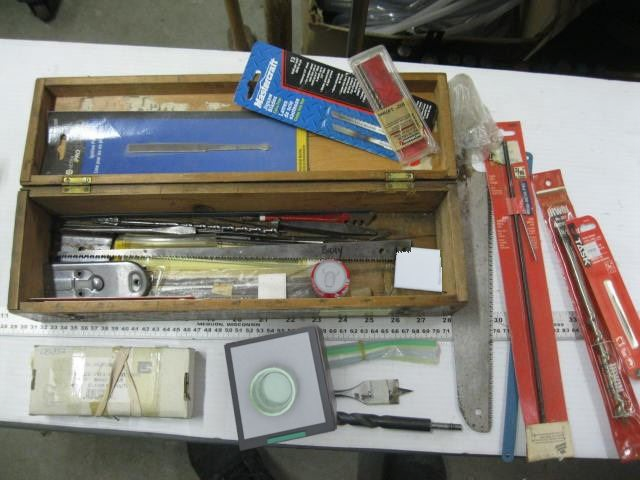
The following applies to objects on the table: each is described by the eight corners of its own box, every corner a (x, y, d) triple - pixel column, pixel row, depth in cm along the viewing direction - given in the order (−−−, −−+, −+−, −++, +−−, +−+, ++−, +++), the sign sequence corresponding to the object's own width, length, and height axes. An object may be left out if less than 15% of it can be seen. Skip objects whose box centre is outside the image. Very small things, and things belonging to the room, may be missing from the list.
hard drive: (395, 247, 91) (458, 253, 90) (393, 287, 89) (456, 294, 88) (396, 245, 89) (460, 251, 89) (394, 286, 88) (459, 293, 87)
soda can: (351, 269, 90) (353, 259, 78) (346, 305, 89) (347, 299, 77) (315, 264, 91) (312, 253, 79) (310, 300, 89) (306, 294, 77)
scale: (335, 427, 60) (335, 432, 58) (242, 447, 60) (238, 452, 58) (315, 326, 63) (314, 325, 61) (227, 344, 63) (222, 345, 61)
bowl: (302, 405, 59) (299, 411, 54) (260, 414, 59) (253, 420, 54) (294, 361, 60) (290, 363, 55) (252, 369, 60) (245, 372, 55)
